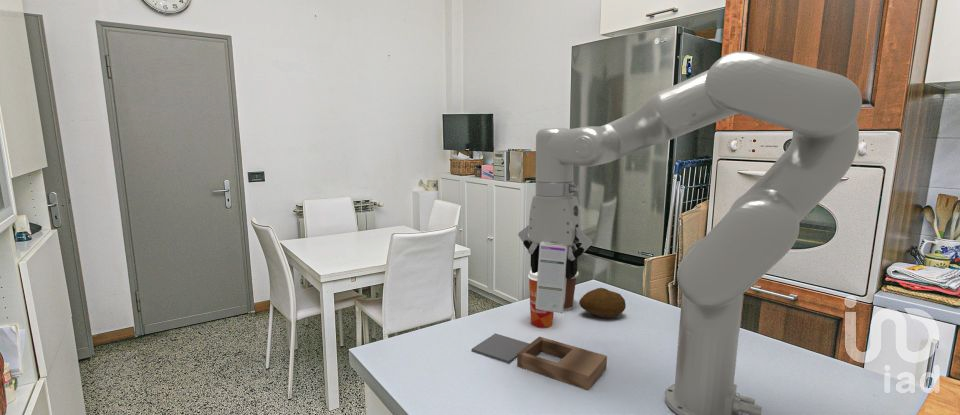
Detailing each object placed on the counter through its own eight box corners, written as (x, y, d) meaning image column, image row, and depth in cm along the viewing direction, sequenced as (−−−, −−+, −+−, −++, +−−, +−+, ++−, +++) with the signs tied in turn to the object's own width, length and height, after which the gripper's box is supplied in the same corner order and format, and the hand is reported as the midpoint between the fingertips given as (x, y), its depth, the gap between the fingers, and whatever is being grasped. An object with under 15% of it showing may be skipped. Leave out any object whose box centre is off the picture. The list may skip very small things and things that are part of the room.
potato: (630, 321, 123) (631, 293, 122) (584, 323, 122) (585, 294, 120) (618, 309, 131) (619, 283, 130) (575, 311, 130) (576, 284, 128)
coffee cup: (566, 299, 139) (567, 260, 137) (584, 309, 131) (585, 268, 129) (539, 303, 136) (540, 263, 134) (555, 314, 127) (557, 272, 125)
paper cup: (521, 320, 123) (522, 269, 121) (546, 315, 126) (547, 266, 124) (537, 332, 116) (538, 278, 114) (562, 326, 119) (564, 274, 117)
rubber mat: (531, 346, 108) (531, 344, 108) (509, 363, 100) (509, 361, 100) (495, 335, 114) (495, 333, 114) (471, 351, 106) (471, 348, 106)
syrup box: (562, 313, 95) (569, 245, 92) (534, 309, 96) (539, 242, 93) (564, 303, 100) (571, 238, 97) (537, 299, 102) (542, 235, 99)
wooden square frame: (606, 369, 98) (607, 355, 98) (588, 390, 90) (588, 376, 90) (538, 348, 107) (539, 336, 107) (517, 366, 99) (517, 353, 99)
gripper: (602, 190, 92) (600, 276, 95) (525, 186, 102) (525, 264, 105) (587, 194, 86) (585, 286, 89) (507, 189, 96) (508, 272, 99)
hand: (553, 273), depth 97 cm, fingers closed on syrup box, 7 cm apart
